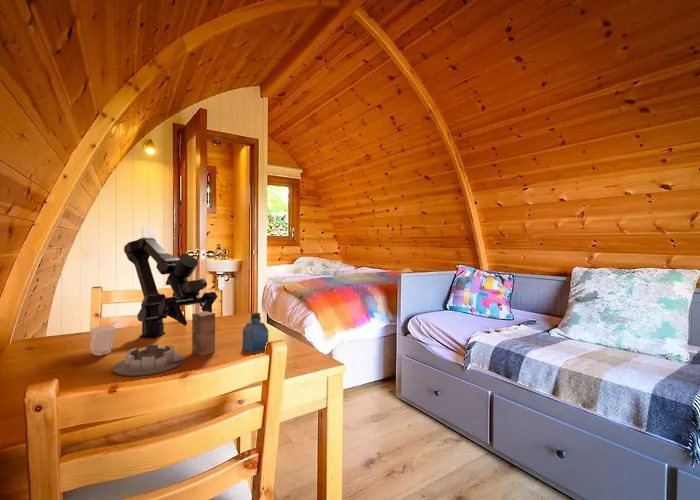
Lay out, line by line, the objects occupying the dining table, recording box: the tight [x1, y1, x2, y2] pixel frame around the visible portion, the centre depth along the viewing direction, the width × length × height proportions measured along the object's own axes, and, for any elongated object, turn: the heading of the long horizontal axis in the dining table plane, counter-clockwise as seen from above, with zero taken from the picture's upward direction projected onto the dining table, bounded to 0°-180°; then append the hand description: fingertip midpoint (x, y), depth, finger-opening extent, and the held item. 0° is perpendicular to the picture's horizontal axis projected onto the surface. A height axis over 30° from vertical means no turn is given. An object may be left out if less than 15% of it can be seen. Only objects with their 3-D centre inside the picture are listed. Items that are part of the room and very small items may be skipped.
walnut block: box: [191, 311, 216, 357], centre depth 110 cm, size 5×5×13 cm
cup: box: [89, 325, 116, 357], centre depth 107 cm, size 7×10×8 cm
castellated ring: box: [113, 343, 185, 378], centre depth 99 cm, size 18×18×4 cm
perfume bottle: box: [242, 312, 269, 353], centre depth 116 cm, size 6×6×12 cm
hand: (199, 322), depth 112 cm, fingers open, 9 cm apart
